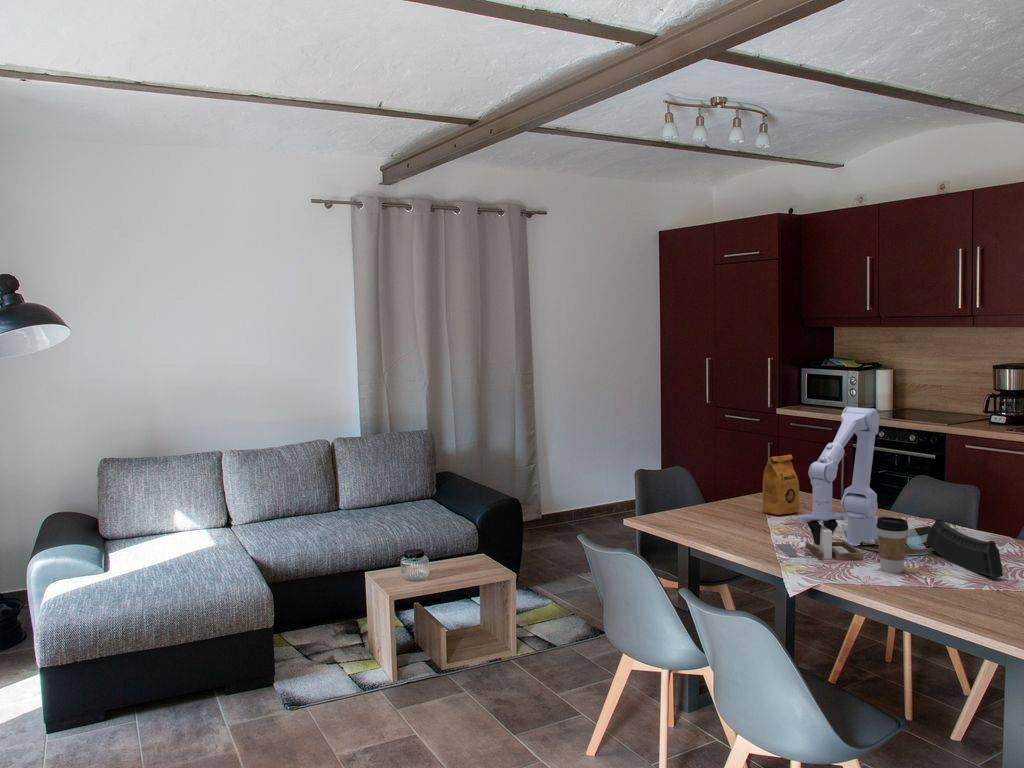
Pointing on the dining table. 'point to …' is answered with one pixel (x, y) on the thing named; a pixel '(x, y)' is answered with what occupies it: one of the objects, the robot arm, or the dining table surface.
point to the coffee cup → (892, 543)
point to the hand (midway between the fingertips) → (822, 544)
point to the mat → (790, 550)
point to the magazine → (965, 550)
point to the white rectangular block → (825, 542)
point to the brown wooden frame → (852, 555)
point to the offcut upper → (840, 549)
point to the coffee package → (780, 486)
